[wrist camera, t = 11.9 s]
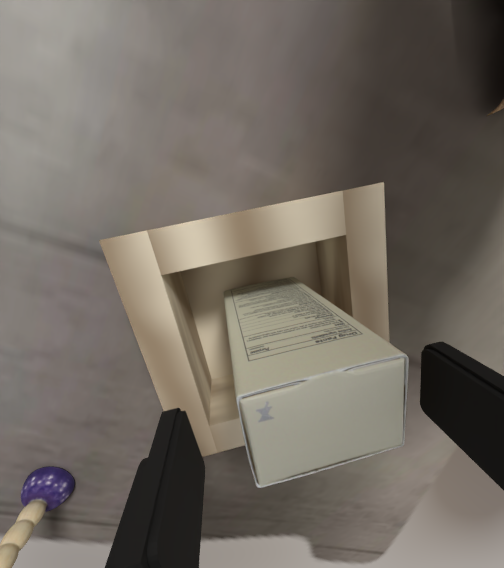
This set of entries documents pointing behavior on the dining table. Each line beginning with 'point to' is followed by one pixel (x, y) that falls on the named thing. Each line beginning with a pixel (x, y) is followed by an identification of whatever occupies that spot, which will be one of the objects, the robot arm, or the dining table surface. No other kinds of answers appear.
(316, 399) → the skincare box
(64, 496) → the toy lamp
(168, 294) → the holder
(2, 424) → the dining table surface
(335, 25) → the dining table surface
